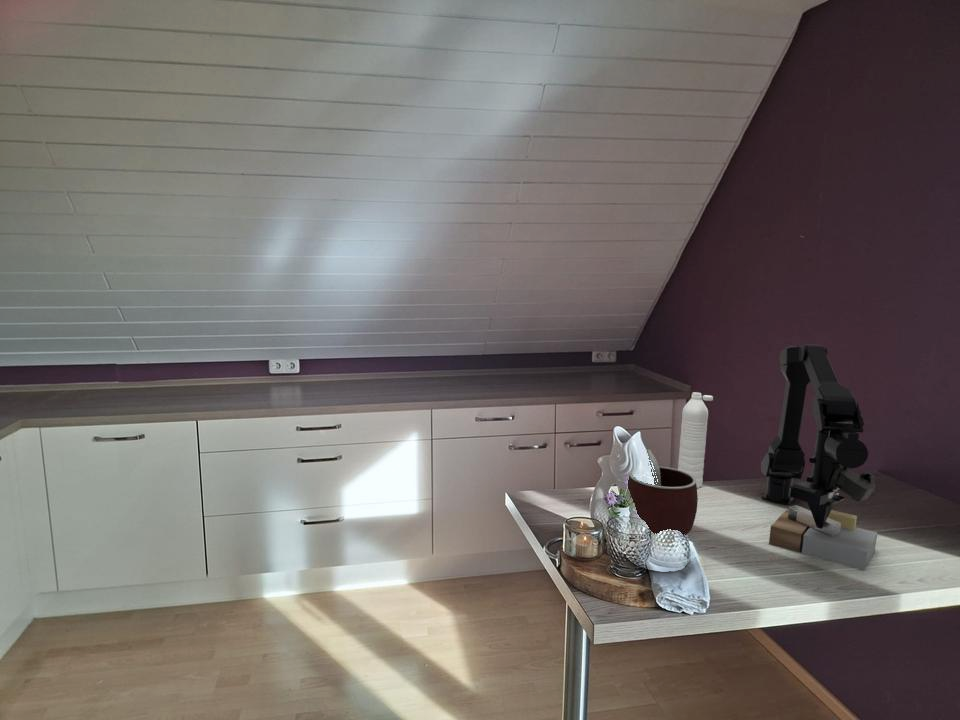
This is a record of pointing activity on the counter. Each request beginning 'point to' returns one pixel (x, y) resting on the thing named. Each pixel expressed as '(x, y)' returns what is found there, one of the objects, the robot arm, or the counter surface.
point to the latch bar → (807, 519)
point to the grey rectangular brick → (842, 543)
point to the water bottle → (694, 437)
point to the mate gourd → (665, 499)
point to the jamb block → (787, 533)
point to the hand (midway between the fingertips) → (819, 528)
